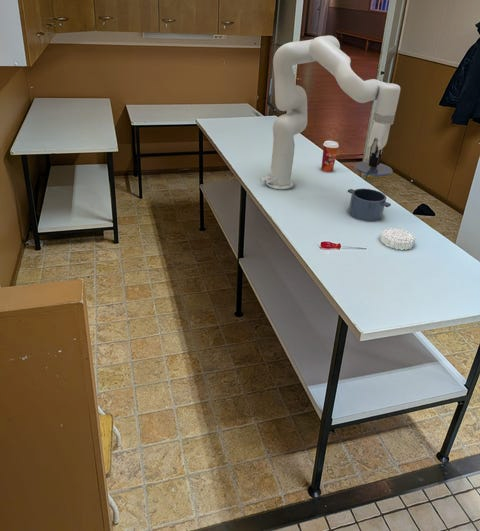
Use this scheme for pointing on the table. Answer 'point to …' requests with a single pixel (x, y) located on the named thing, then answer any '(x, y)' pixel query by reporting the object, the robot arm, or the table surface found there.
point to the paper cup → (329, 155)
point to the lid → (373, 169)
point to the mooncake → (397, 238)
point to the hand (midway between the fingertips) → (373, 164)
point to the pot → (367, 204)
